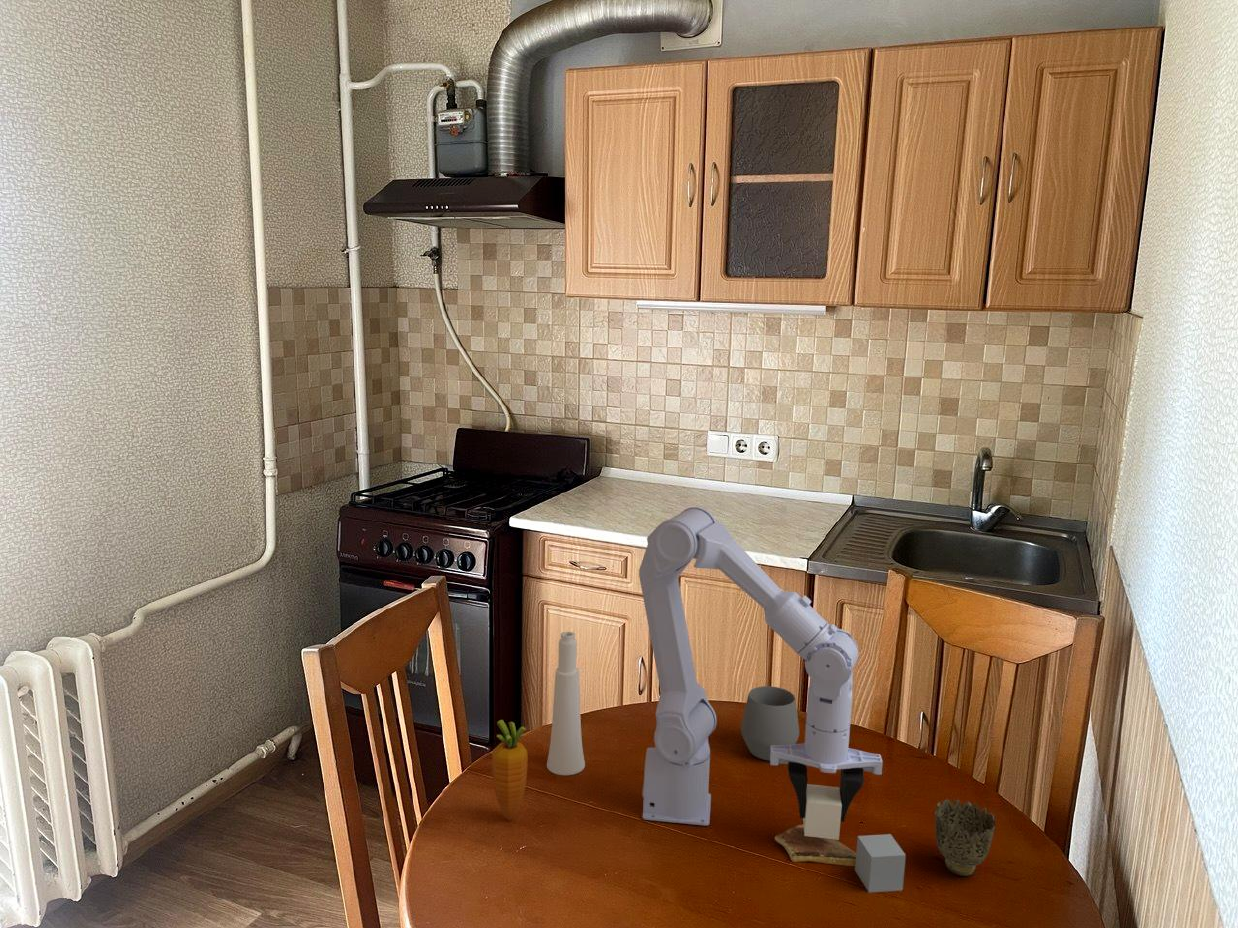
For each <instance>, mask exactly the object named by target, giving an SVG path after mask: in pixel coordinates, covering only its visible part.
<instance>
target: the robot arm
mask: <svg viewBox="0 0 1238 928" xmlns="http://www.w3.org/2000/svg"><path fill="white" fill-rule="evenodd" d="M646 542H647V545H646V548H645V552H644V553H643V558H642V560H641V562H640V567H639V569H638V578H639V582H640V587H641V594H642V599H643V604H644V610H645V614H646V619H647V620H646V621H647V625H648V630H649V636H650V640H651V646H652V651H653V657H654V663H655V667H656V673H657V679H658V684H659V688H660V689H659V690H660V694H659V698H658V702H657V705H656V711H655V719H656V727H655V731H654V736H653V741H654V746H655V747H647V749H646V754H645V761H644V772H643V773H644V776H643V786H642V795H641V796H642V798H643V805H642V807H643V809H642V819H643V820H644V821H645V820H647V821H653V822H654V821H656V822H664V823H666V822H667V823H675V824H677V823H678V824H687V825H697V826H709V825H710V820H711V818H710V817H711V803H712V794H711V793H709V787H710V786H709V785H710V783H709V782H710V767H711V766H710V764H711V763H710V762H711V748H710V744H709V736H711V734H712V733H713V732H714V731H715V730H716V727H717V722H718V721H717V720H718V719H717V718H718V717H717V715H716V711H715V709H714V708H713V706H712V705H711V703H710V702H709V700H708V697H707V694H706V693H707V692H706V690H705V688H704V687H703V686H701V685H700V684H699V683H698V681H697V675H696V671H695V670H696V669H695V663H694V659H693V658H694V657H693V653H692V648H691V641H690V635H689V631H688V625H687V622H686V621H687V620H686V614H685V609H684V603H683V598H682V593H681V586H680V582H679V577H680V575H681V574H682V573H683V571H685V569H686V568H687V567H688V566H689V564H690V563H691V562H692V560H693V559H695V562H694V563H693V567H694V568H696V569H709V570H710V569H711V570H719V571H721V573H723V574H724V575H725V576H726V577H728V578H729V580H731V581H732V582H733V583H734V584H735V585H736V586H738V587H739V588H740V589H741V590H742V591H743V592H744V593H746V594H747V595H748V597H750V598H751V599H752V600H754V601H755V602H756V603H757V604H758V605H759V606H761V607H762V608H763V610H764V620H765V623H766V624H767V626H769V627H770V628H771V629H772V630H773V631H774V632H775V633H776V634H777V636H779V637H780V638H781V639H782V640H783V641H784V642H785V643H786V644H787V645H788V646H789V647H790V648H791V649H792V650H793V651H794V652H795V653H797V655H798V656H799V657H800V658H802V659H804V660H805V661H804V666H805V671H806V673H807V675H808V676H809V686H808V689H807V690H808V691H807V706H806V719H805V733H804V743H796V744H792V745H771V749H770V760H769V762H770V763H769V765H770V766H779V764H782V765H783V764H784V765H787V769H788V770H787V771H788V777H789V779H790V782H791V785H792V786H793V789H794V791H795V795H796V798H797V803H798V811H799V812H798V813H799V818H800V819H803V818H805V812H806V790H807V784H808V782H809V778H808V768H807V767H813V768H817V769H819V771H820V772H822V773H826V774H827V773H828V774H836V773H837V771H838V770H839V771H840V778H839V779H840V782H839V783H840V784H839V791H840V797H841V803H842V810H841V822H840V823H844V822H845V820H846V815H847V812H848V811H849V808H850V806H851V803H852V802H853V800H854V798H855V796H856V795H857V793H858V792H859V791H860V790H861V789H862V788H863V785H864V782H865V777H864V772H872V773H873V775H879V776H880V775H882V773H883V770H882V769H883V758H882V755H881V754H878V753H871V752H867V751H863V750H859V749H856V748H855V749H854V748H852V747H851V748H850V747H849V744H850V733H851V732H850V731H851V721H852V719H851V718H852V708H853V707H852V705H853V695H854V693H853V686H854V681H853V680H854V679H853V678H854V677H853V675H854V673H853V670H854V668H855V665H857V661H858V660H859V646H858V644H857V642H856V640H855V639H854V638H853V636H852V635H851V633H850V632H849V631H847V630H845V629H841V628H838V627H837V626H836V625H835V624H834V623H832V624H829V622H827V620H826V619H825V618H823V617H822V615H820V613H818V612H817V611H816V610H815V609H814V608H813V607H812V606H811V603H812V600H811V599H810V598H809V597H807V595H802V597H801V596H800V594H798V593H797V592H796V591H792V590H791V591H790V590H789V591H788V590H783V589H781V588H780V587H779V586H778V585H777V584H776V583H775V581H773V580H772V579H771V577H770V576H769V575H768V574H767V573H766V572H765V571H764V570H763V569H762V568H761V567H760V566H759V565H758V563H756V561H755V560H754V559H753V558H752V557H751V556H750V555H749V554H748V553H747V552H746V551H745V549H744V548H743V547H741V545H740V544H739V542H737V541H736V540H735V538H734V537H733V536H732V535H731V532H729V530H728V528H727V527H726V525H724V524H723V523H722V522H720V521H719V520H717V521H716V519H715V517H714V516H713V514H711V512H710V511H709V510H707V509H705V508H702V507H701V506H699V507H698V506H691V507H688V508H685V509H684V510H682V511H681V512H680V513H679V514H677V515H675V516H673V517H671V518H670V519H667V520H664V521H662V522H661V523H659V524H658V525H657V526H656V528H655V529H654V530H652V531H651V533H649V535H648V536H647V537H646Z"/></svg>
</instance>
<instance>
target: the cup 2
mask: <svg viewBox="0 0 1238 928" xmlns="http://www.w3.org/2000/svg"><path fill="white" fill-rule="evenodd" d="M936 807H937V808H936V810H934V813H935V814H934V815H935V816H934V827H935V839H936V840H935V841H936V844H937V845H936V846H937V848H938V850H939V852H940V854H941V855H942V856H943V858H945V860H944V862H945V865H946V868H947V869H948V870H949V871H950V872H951V873H953V874H954V875H958V876H962V877H966V876H970V875H972V874H973V872H975V869H976V866H978V865H980V864H982V863H983V862H984V861H985V860H986V858H987V856H988V853H989V851H990V849H991V845H992V841H993V840H992V839H993V837H994V833H995V827H996V819H995V815H994V813H987V812H988V811H987V809H986V807H984V808H983V809H980V808H979V807H978V804H977V803H973V804H971V802H970V801H969V800H968V801H965V802H964V803H963V804H961V800H960V799H956V800H955V801H954V803H953V802H952V801H951V800H950V799H948V798H946V799H944V800H943V802H942V803H941V802H939V801H938V802H937V804H936Z"/></svg>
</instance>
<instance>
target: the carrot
mask: <svg viewBox="0 0 1238 928" xmlns="http://www.w3.org/2000/svg"><path fill="white" fill-rule="evenodd" d="M496 724H497V727H498V728H499V729H500V731H501V733H502V734H503V735H502V734H501V733H499V734H496V738H498V739H499V741H501V742H500V743H499V744H497V746H496V747H495V748H494V749H493V750H492V752H491V764H492V766H491V769H492V782H493V787H494V792H495V795H496V800H497V802H498V805H499V807H500V810H501V811H502V813H503V816H504V817H505V819H506V820H507V821H509V822H510V821H512V820H513V819H514V818H515V816H516V814H517V813H518V811H519V809H520V807H521V804H522V801H523V799H524V795H525V791H526V785H527V780H528V779H527V777H528V759H529V757H528V756H529V754H528V750H527V749H526V748H525V746H524V744H522V743H521V742H519V741H520V739H521V738H522V736H523V734H524V733H525V732H526V729H527V728H526V727H524V726H521V727H519V729H518V730H517V729H516V724H515V722H513V721H510V722H508V726H509V728H508V726H507V724H506V723H505V722H504V719H500V720H498V721H497V722H496ZM509 730H510V731H509Z"/></svg>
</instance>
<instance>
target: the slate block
mask: <svg viewBox="0 0 1238 928" xmlns="http://www.w3.org/2000/svg"><path fill="white" fill-rule="evenodd" d="M855 852H856V864H855V866H854V871H855V873H856V875H857V876H858V878H859V880H860V881H861V882H862V883H863V885H864V887H865V889H866V891H867V892H868V893H881V892H884V893H885V892H896V891H903V888H904V878H905V869H906V859H907V858H906V857H907V855H906V853H905V852H904V851H903V848H901V846H900V845H899V844H898V841H896V840H895V838H894V837H893V835H892V834H891V833H887V834H870V835H867V834H866V835H858V836H857V840H856V850H855Z"/></svg>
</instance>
